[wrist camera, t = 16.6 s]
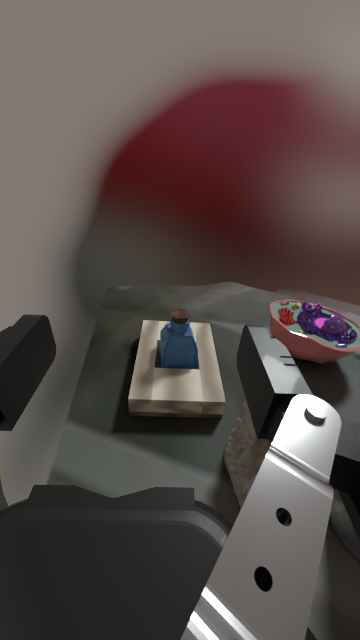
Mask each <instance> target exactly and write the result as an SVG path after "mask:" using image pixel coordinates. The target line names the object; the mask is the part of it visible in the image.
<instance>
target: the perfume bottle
mask: <svg viewBox="0 0 360 640" xmlns="http://www.w3.org/2000/svg"><path fill="white" fill-rule="evenodd" d="M171 314H172V317H171V318H170V323H167V324H166V325H165V326H164V328H163V329H162V330H161V332H160V365H161V368H177V369H196V362H197V355H198V349H197V345H196V342H195V338H194V335H193V331H192V329H191V327H190V319H189V316H190V313H189V312H188V311H187V310H184V309H175V310H173V311H172V313H171Z"/></svg>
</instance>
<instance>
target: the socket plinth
mask: <svg viewBox="0 0 360 640" xmlns="http://www.w3.org/2000/svg"><path fill="white" fill-rule="evenodd" d="M167 323H170V322H168V321H148V320H144V321H143V326H142V331H141V336H140V341H139V347H138V352H137V357H136V362H135V367H134V372H133V377H132V382H131V387H130V392H129V397H128V403H129V416H160V417H193V418H222V415H223V411H224V407H225V403H226V402H225V397H224V392H223V387H222V382H221V377H220V372H219V367H218V362H217V357H216V353H215V348H214V343H213V338H212V333H211V328H210V324H208V323H190V327H191V329H192V331H193V335H194V338H195V342H196V345H197V349H198V355H197V362H196V369H177V368H161V365H160V332H161V330H162V329H163V328H164V326H165V325H166V324H167Z"/></svg>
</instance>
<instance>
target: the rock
mask: <svg viewBox="0 0 360 640" xmlns="http://www.w3.org/2000/svg"><path fill="white" fill-rule="evenodd" d="M242 405H243V407H244V410H243V415H242V417H241V418H238V423H237V424H236V428H234V429H233V430H232V432H231V433H230V435H229V437H228V440H227V442H226V445H225V450H224V460H225V465H226V467H227V470H228V473H229V476H230V478H231V481H232V484H233V488H234V492H235V495H236V496H237V499H238V502H239V506H240V508H242V506H243V504H244V502H245V500H246V498H247V495H248V493H249V491H250V489H251V487H252V485H253V482H254V480H255V478H256V476H257V474H258V472H259V470H260V467H261V465H262V463H263V461H264V459H265V457H266V454H267V452H268V450H269V448H270V444H269V441H268V439H257V436H256V433H255V429H254V425H253V422H252V418H251V415H250V411H249V408H248V404H247V401H246V400H245V401H244V403H243V404H242Z"/></svg>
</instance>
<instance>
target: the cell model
mask: <svg viewBox="0 0 360 640" xmlns="http://www.w3.org/2000/svg"><path fill="white" fill-rule="evenodd" d="M270 310H271V322H270V332H271V334H272V336H273V337H274V338H276V339H278V340H279V341H280V342H281V343H282V344H283V345H285V346H286V348H287V349H288V351H289V353H290V354H291V355H292V356H293V357H294V358H296V359H300V360H308V361H312V362H316V363H327V362H333V361H336V360H338V359H340V358H343V357H346V356H348V355H350V354H352V353H354V352H355V351H358V350H359V349H360V327H359V326H358V325H357V324H356V323H354V322H353V321H351V320H349V319H348V318H346V317H345V316H343V315H342V314H340V313H338V312H336V311H334V310H331V309H329V308H326V307H323V306H320V304H317V305H316V304H311V303H306V302H301V301H296V300H282V301H276V302H273V303H271V305H270Z"/></svg>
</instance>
